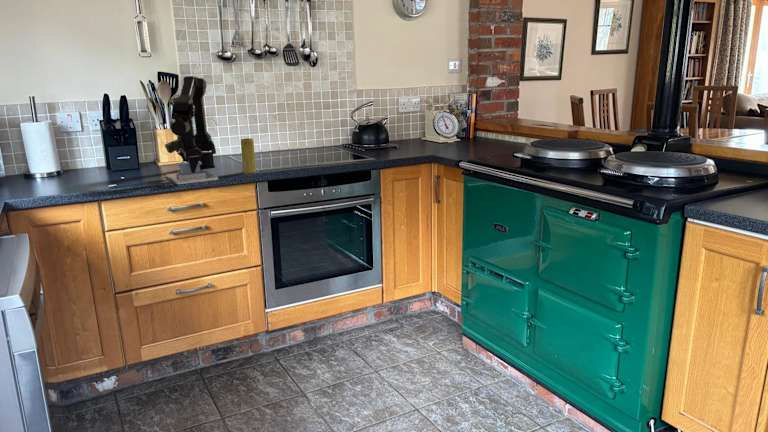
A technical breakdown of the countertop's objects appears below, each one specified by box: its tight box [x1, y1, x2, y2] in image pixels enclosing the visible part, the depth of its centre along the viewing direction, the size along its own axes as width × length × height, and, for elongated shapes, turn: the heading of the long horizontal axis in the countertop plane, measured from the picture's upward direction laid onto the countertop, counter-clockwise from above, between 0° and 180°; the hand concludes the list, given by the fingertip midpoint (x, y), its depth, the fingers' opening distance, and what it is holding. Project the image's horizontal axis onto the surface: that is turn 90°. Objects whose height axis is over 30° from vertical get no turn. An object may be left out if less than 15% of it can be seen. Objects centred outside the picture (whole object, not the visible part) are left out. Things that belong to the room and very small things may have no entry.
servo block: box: [176, 160, 202, 175], centre depth 232 cm, size 9×4×7 cm, turn 122°
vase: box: [240, 138, 258, 174], centre depth 245 cm, size 6×6×14 cm
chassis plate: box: [165, 169, 219, 185], centre depth 236 cm, size 16×20×3 cm
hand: (190, 171), depth 232 cm, fingers open, 9 cm apart
